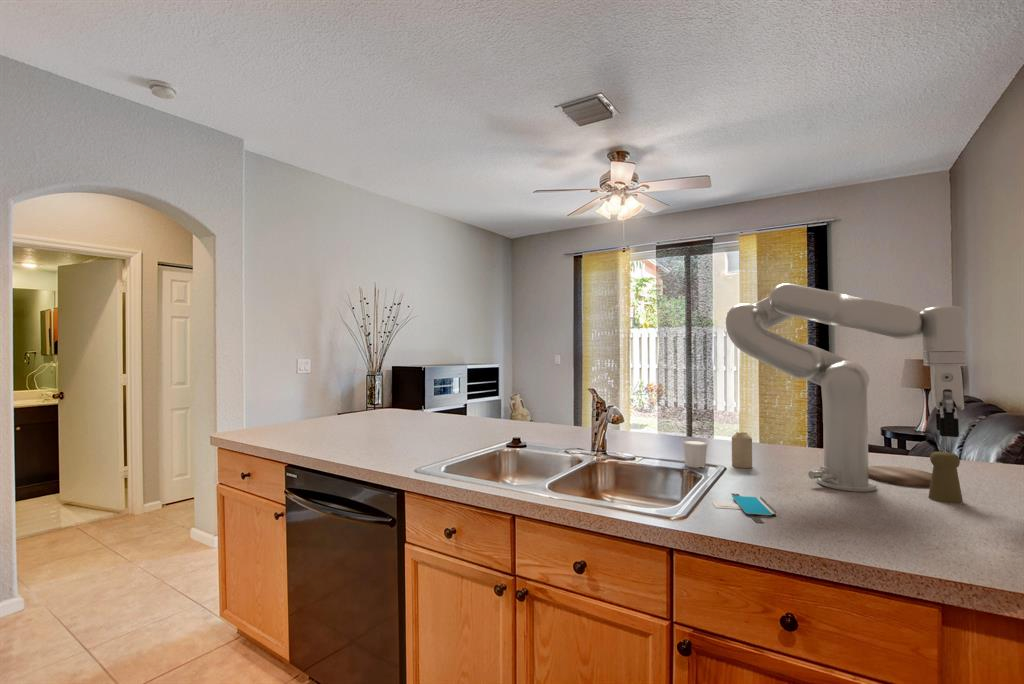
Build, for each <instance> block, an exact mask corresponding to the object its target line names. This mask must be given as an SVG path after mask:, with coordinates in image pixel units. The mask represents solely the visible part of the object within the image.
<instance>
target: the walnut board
mask: <svg viewBox="0 0 1024 684" xmlns="http://www.w3.org/2000/svg"><path fill="white" fill-rule="evenodd" d="M931 478H932V473H931V472H928V471H925V470H920V469H914V468H909V467H902V466H900V467H899V466H893V465H892V466H889V465H870V466H868V479H871V480H874V481H878V482H881V483H886V484H892V485H898V486H903V487H904V486H905V487H915V488H930V484H931Z"/></svg>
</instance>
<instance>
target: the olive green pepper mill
mask: <svg viewBox="0 0 1024 684" xmlns="http://www.w3.org/2000/svg"><path fill="white" fill-rule="evenodd" d="M929 460H930V463H931V464H932V465H933V467H932V478H931V484H930V487H929V491H928V499H930V500H931V501H934V502H937V503H938V502H939V503H944V504H952V505H960V504H961V505H962V504H963V503H964V500H963V495H962V494H963V493H962V491H961V490H962V489H961V484H960V479H959V472H958V468H959V467H960V464H961V460H960V457H959V456H958V455H957V454H955V453H953V452H947V451H934V452H932V453H931V454H930V457H929Z"/></svg>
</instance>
